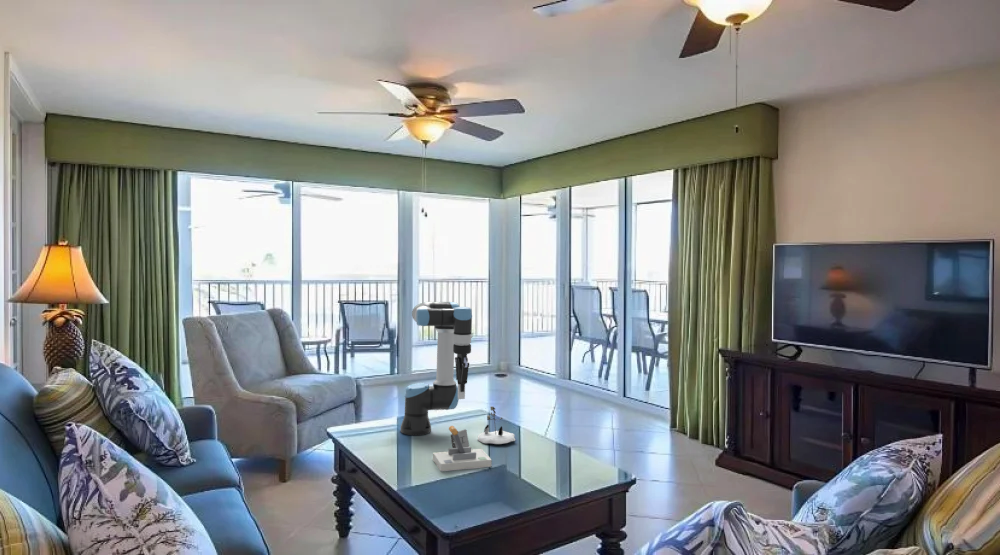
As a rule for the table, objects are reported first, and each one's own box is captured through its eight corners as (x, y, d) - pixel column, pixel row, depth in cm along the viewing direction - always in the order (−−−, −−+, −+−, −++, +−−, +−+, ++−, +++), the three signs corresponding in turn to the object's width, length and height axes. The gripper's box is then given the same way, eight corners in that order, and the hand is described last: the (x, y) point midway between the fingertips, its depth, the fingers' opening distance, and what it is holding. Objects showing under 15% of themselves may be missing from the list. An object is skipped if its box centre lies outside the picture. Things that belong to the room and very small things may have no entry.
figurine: (524, 441, 279) (522, 406, 279) (492, 447, 268) (491, 412, 269) (500, 433, 295) (499, 401, 296) (469, 439, 285) (468, 406, 285)
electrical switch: (457, 452, 263) (456, 433, 263) (449, 450, 265) (449, 432, 266) (469, 447, 269) (468, 429, 269) (462, 446, 272) (461, 428, 272)
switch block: (432, 459, 252) (433, 447, 251) (481, 455, 259) (481, 443, 259) (440, 471, 239) (441, 458, 238) (491, 466, 246) (491, 454, 246)
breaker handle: (458, 453, 251) (448, 427, 249) (463, 451, 252) (453, 424, 250) (462, 458, 246) (451, 431, 244) (467, 455, 247) (456, 428, 244)
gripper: (475, 346, 241) (474, 402, 243) (466, 340, 253) (465, 393, 255) (458, 347, 238) (457, 403, 240) (449, 341, 250) (448, 395, 252)
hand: (461, 398), depth 247 cm, fingers closed
